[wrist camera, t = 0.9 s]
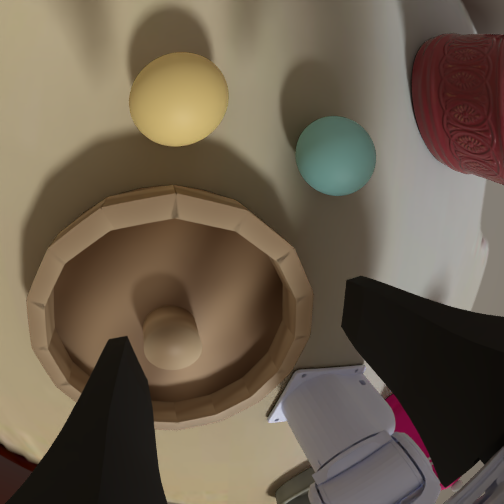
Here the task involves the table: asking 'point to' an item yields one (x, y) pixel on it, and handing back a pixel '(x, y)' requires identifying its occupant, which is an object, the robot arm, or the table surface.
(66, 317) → the groove tray
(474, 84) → the canister
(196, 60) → the bead ochre
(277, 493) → the cake pan
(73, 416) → the robot arm
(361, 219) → the table surface
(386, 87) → the table surface
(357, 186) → the bead teal
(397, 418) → the pepper mill
